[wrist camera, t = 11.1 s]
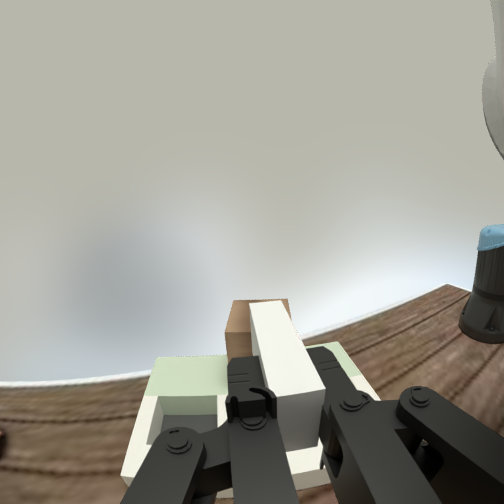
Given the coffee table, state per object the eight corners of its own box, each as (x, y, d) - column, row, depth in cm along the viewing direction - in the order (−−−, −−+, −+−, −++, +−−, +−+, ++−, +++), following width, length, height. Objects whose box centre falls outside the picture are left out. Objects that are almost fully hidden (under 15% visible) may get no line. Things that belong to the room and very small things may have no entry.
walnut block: (287, 349, 44) (287, 298, 42) (291, 388, 34) (293, 330, 32) (237, 351, 44) (233, 300, 42) (230, 389, 35) (224, 332, 33)
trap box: (335, 360, 46) (337, 341, 45) (399, 460, 23) (409, 440, 22) (161, 376, 43) (156, 357, 42) (133, 493, 20) (120, 475, 19)
